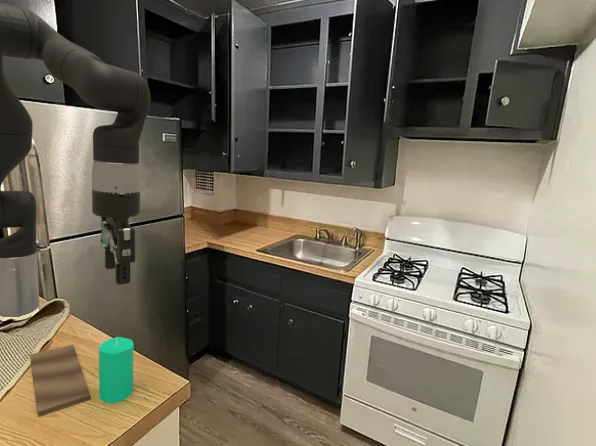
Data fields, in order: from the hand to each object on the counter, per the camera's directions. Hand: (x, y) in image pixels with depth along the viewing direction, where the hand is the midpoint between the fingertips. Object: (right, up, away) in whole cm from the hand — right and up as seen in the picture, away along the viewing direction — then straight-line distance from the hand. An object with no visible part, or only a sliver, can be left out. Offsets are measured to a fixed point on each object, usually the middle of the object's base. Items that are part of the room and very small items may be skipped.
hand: (117, 275), depth 63 cm
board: (-16, -22, +7) cm, 28 cm away
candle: (-3, -24, +5) cm, 25 cm away
